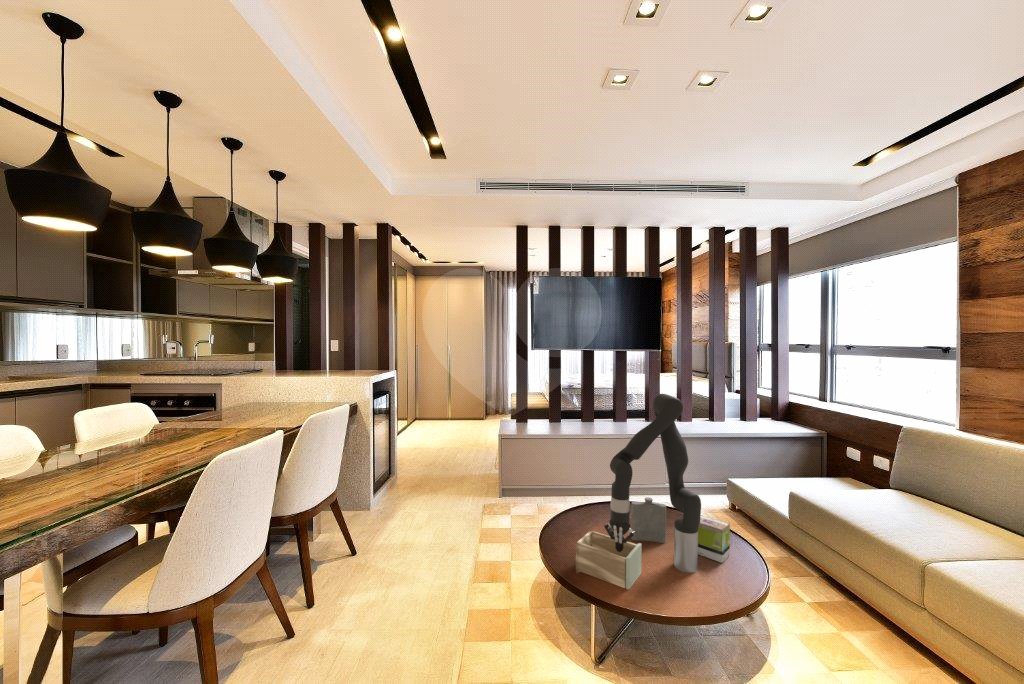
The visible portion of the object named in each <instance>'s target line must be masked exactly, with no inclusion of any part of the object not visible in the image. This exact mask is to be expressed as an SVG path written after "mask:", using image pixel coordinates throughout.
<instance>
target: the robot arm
mask: <svg viewBox="0 0 1024 684" xmlns="http://www.w3.org/2000/svg"><path fill="white" fill-rule="evenodd" d="M652 408H653V413H654V416H655V418H654V419H653V420H652V422H650V423H649V424H647V425H646V426H645V427H643V428H641V429H640V430H639V431H637V433H635V434H634V435H633V436H632V437H631V439H630V440H629V442H628V443H627V444H626V446H625V447H624V448H623V449H621V450H620V451H619V452H617V453H616V454H615V455H614V456H613V457H612V459H611V461H610V463H609V469H610V470H611V472H612V473H613V474H615V477H614V478H615V479H614V481H613V482H612V484H611V499H610V505H609V506H610V516H609V517H610V520H609V522H607V523H605V524H604V525H603V526H604V529H605V531H606V532H607V534H608V536H610V537H611V539H614V540H615V548H616V549H617V551H618V552H621V551H622V550H623V543H626V542H629V540H631V537H632V536H633V535H634V534H635V533H636V532H635V531H633V530H632V529H631V524H630V520H631V518H630V516H631V515H630V514H631V512H630V511H631V509H630V508H631V503H630V501H631V500H630V486H631V483H632V481H633V480H632V478H633V466H632V464H631V463H632V462H633V461H635V460H636V461H638V460H640V459H641V458H642V456H643V455H644V454H645V453H646V452H647V451H648V449H649V448H650V446H651V445H652V444H653V443H654V441H656V439H657V438H658V437H659V436H660V440H661V444H662V445H661V447H662V453H663V457H664V461H665V465H666V472H667V478H668V488H669V489H668V490H669V500H670V503H671V505H672V507H673V508H674V509H676V510H677V511H679V512H681V513H682V517H678V518H676V519H675V520H674V524H673V525H674V527H673V528H674V530H673V531H674V534H673V537H674V538H673V540H674V541H673V543H674V545H673V547H674V548H673V549H674V550H673V566H674V567H675V569H677V570H678V571H680V572H684V573H688V574H692V573H693V574H694V573H696V572H698V568H699V567H698V566H699V565H698V564H699V554H698V527H699V524H700V516H701V515H702V501H701V498H700V497H701V496H699V495H698V494H697V493H695V492H693V491H692V490H691V491H690V490H688V489H687V488H686V487H685V483H684V474H685V472H686V470H687V468H688V465H689V455H688V449H687V446H686V443H685V441H684V439H683V437H682V434H681V433H680V431H679V430H678V427H677V425H676V420H677V419H679V418H680V416H681V415H682V413H683V411H684V404H683V402H682V400H681V399H679V398H677V397H675V396H672V395H670V394H667V393H659V394H657V395H656V396H655V397H654V399H653V401H652ZM626 534H628V536H626V537H625V535H626Z"/></svg>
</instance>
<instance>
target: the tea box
mask: <svg viewBox="0 0 1024 684" xmlns="http://www.w3.org/2000/svg"><path fill="white" fill-rule="evenodd" d="M730 526H731V525H730V522H726V521H723V520H719V519H715V518H713V517H710V516H705V515H702V514H701V516H700V524H699V527H698V556H702V557H704V558H707V559H710V560H713V561H715V562H718V563H721V564H722V563H725V561H726V560H727V559H728V558H729V557H730V554H731V553H730V551H731V543H730V542H731V538H730V535H731V531H730V530H731V529H730V528H731V527H730Z"/></svg>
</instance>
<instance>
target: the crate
mask: <svg viewBox="0 0 1024 684" xmlns="http://www.w3.org/2000/svg"><path fill="white" fill-rule="evenodd" d="M637 544H638V543H634V542H631V541H627V542H626V543H623V550H622V551H621V552H618V551H617V549H616V548H615V540H614V539H611V537H610V536H609V534H608V535H607V534H604V533H601V532H598V531H595V530H591V529H590V530H589V531H588V532H587V533H586V534H585V535H584V536H582V537H581V538H580V539H579V540H578V541H576V543H575V573H576V574H580V573H583V574H585V575H589V576H591V577H594V578H596V579H599V580H602V581H605V582H607V583H610V584H612V585H615V586H617V587H620V588H623V589H626V557H627V556H628V555H629V554H630V552H631V551H632V550H633V549H634V548H635V547H636V546H637Z"/></svg>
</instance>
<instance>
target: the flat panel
mask: <svg viewBox="0 0 1024 684" xmlns="http://www.w3.org/2000/svg"><path fill="white" fill-rule="evenodd" d="M636 544H637V546H636V547H635V548H634V549H633V550H632V551H631V552H630V554H629V555H628V556H627V557H626V587H625V590H630V589H631V587H632V586H633V584H635V582H636V581H637V579H638V578H639V576H641V574H642V544H643V543H641V542H638V543H636Z"/></svg>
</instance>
